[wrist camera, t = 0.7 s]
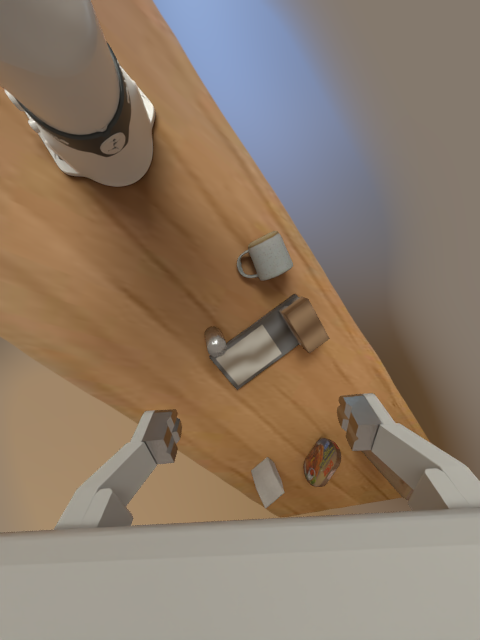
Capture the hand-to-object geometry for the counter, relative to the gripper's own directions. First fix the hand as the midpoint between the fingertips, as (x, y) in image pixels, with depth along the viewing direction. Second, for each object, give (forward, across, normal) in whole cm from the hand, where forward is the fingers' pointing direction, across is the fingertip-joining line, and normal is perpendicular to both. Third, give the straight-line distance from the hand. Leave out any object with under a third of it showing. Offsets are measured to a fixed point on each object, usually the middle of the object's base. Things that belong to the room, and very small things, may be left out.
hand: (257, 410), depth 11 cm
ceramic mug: (+42, -3, +3) cm, 42 cm away
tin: (+34, -17, +66) cm, 76 cm away
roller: (+36, +9, +18) cm, 41 cm away
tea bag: (+30, +1, +64) cm, 71 cm away
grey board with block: (+38, -3, +23) cm, 44 cm away
